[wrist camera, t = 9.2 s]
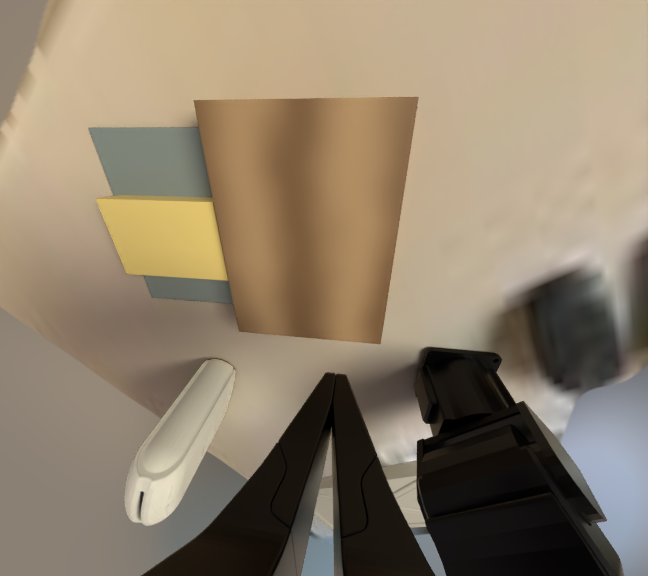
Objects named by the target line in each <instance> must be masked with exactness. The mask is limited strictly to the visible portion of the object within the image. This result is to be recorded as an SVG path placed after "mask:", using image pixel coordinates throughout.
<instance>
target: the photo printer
mask: <svg viewBox="0 0 648 576" xmlns="http://www.w3.org/2000/svg"><path fill="white" fill-rule="evenodd" d="M235 376H236V371H235V370H234V369H233V367H232V366H231V365H230V364H228V363H227V362H225V361H222V360H219V359H211V360H206V361H205V362H204V363H203V364H202V365H201V366H200V368H199V369H198V370H197V372H196V373H195V374H194V376H193V377H192V378H191V380H190V381H189V382H188V384H187V385H186V386H185V388H184V389H183V390H182V392H181V393H180V394H179V396H178V397H177V398H176V400H175V401H174V402H173V404H172V405H171V407H170V408H169V409H168V411H167V412H166V413H165V415H164V416H163V417H162V419H161V420H160V421H159V423H158V424H157V425H156V427H155V428H154V429H153V431H152V432H151V433H150V435H149V436H148V437H147V438H146V440H145V441H144V442H143V444H142V445H141V447H140V448H139V450H138V451H137V453H136V455H135V456H134V458H133V460H132V462H131V465H130V469H129V472H128V476H127V480H126V487H125V492H124V496H125V497H124V499H125V509H126V512H127V514H128V517H129V518H130V519H131V521H132V522H141V523H143V524H144V525H145V526H149V525H153V524H156V523H158V522H160V521H162V520H163V519H165V518H166V517H167V516H169V515H170V514H171V513H172V512H173V511H174V510H175V508H176V507H177V506H178V504H179V503H180V501H181V499H182V497H183V495H184V493H185V491H186V489H187V487H188V486H189V484H190V482H191V480H192V478H193V476H194V474H195V472H196V470H197V468H198V466H199V464H200V462H201V460H202V458H203V457H204V455H205V453H206V451H207V449H208V447H209V445H210V443H211V441H212V439H213V437H214V435H215V434H216V432H217V430H218V428H219V426H220V424H221V422H222V420H223V418H224V416H225V413H226V410H227V408H228V405H229V401H230V398H231V394H232V390H233V386H234V382H235Z"/></svg>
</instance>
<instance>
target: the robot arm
mask: <svg viewBox="0 0 648 576" xmlns="http://www.w3.org/2000/svg"><path fill="white" fill-rule="evenodd" d="M430 353H433V354H430ZM493 359H494V360H493ZM501 362H502V359H501V357H500V356H499V355H498V354H496V353H485V352H473V351H462V350H451V349H440V348H429V349H427V350H426V353H425V356H424V360H423V364H422V366H420V367H419V369H418V373H417V376H416V380H415V384H414V386H415V394H416V397H417V398H418V403H419V407H420V411H421V415H422V419H423V421H424V422H425V423H426V424H430V427H431V431H432V434H433V437H430V438H427V439H425V440H424V439H421V440H418V441H417V480H416V488H417V501H418V504H419V506H420V509H421V512H422V515H423V518H424V520H425V525H426V527H427V529H428V531H429V533H430V535H431V537H432V539H433V541H434V543H435V546H436V548H437V551H438V553H439V555H440V558H441V561H442V563H443V566H444V569H445V573H446V576H624V573H623V568H622V564H621V561H620V558H619V556H618V555H617V553H616V551H615V550H614V548H613V547H612V545H611V544H610V543H609V541H608V540H607V538H606V537H605V535H604V534H603V532H602V531H601V529H600V528H599V526H598V525H597V523H598V522H604V521H607V519H606V517H605V515H604V514H603V512H602V510H601V508H600V506H599V505H598V502H597V501H596V499H595V497H594V495H593V494H592V492H591V490H590V488H589V486H588V484H587V482H586V481H585V479H584V477H583V475H582V473H581V472H580V470H579V468H578V467H577V465H576V464H575V463H574V461H573V460H572V459H571V457H570V456H569V455H568V453H567V452H566V450H565V449H564V448H563V447H562V445H561V444H560V442H559V441H558V440H557V438H556V437H555V436H554V434H553V433H552V432H551V431H550V430H549V429H548V428H547V426H546V425H545V424H544V423H543V422H542V421H541V420H540V419H539V418H538V416H537V415H536V414H535V413H534V412H533V411H532V410H531V409H530V408H529V406H528V405H527V404H526V403H525V402H524V401H522V402H519V403H515V401H514V399H513V398H512V396H511V395H510V393H509V392H508V390H507V389H506V387H505V385H504V384H503V382H502V381H501V379H500V378H499V376H498V374H497V373H496V372H497V370H498V368H499V366H500V364H501ZM331 429H332V484H333V537H334V576H435V574H434V572H433V571H432V569H431V567H430V566H429V564H428V562H427V560H426V558H425V556H424V554H423V552H422V551H421V549H420V547H419V545H418V543H417V541H416V539H415V537H414V535H413V533H412V531H411V529H410V527H409V525H408V523H407V521H406V519H405V517H404V515H403V513H402V511H401V509H400V507H399V505H398V503H397V501H396V499H395V496H394V494H393V492H392V490H391V488H390V486H389V483H388V481H387V479H386V476H385V474H384V471H383V469H382V466H381V464H380V461H379V459H378V457H377V454H376V451H375V448H374V446H373V443H372V440H371V438H370V435H369V433H368V430H367V427H366V425H365V422H364V419H363V417H362V414H361V411H360V409H359V406H358V404H357V401H356V398H355V396H354V393H353V390H352V388H351V385H350V383H349V380H348V377H347V375H345V374H335V373H328V372H327V373H325V374H324V376H323V377H322V379H321V380H320V382H319V383H318V384H317V386H316V387H315V389H314V390H313V392H312V393H311V395H310V396H309V397H308V399H307V400H306V402H305V403H304V405H303V406H302V408H301V409H300V410H299V412H298V413H297V415H296V416H295V418H294V419H293V421H292V422H291V423H290V425H289V426H288V428H287V429H286V431H285V432H284V434H283V435H282V436H281V438H280V439H279V441H278V442H279V443H276V445H275V446H274V448H273V449H272V451H271V452H270V453H269V455H268V456H267V457H266V459H265V460H264V462H263V463H262V464H261V466H260V467H259V468H258V469H257V470H256V472H255V473H254V474H253V475H252V477H251V478H250V479H249V480H248V481H247V483H246V484H245V485H244V486H243V487H242V488H241V490H240V491H239V492H238V493H237V494H236V495H235V496H234V498H233V499H232V500H231V501H230V502H229V504H228V505H227V506H226V507H225V508H224V509H223V510H222V511H221V513H220V514H219V515H218V516H217V517H216V518H215V519H214V521H213V522H212V523H211V524H210V525H209V526H208V527H207V528H206V529H205V530H204V531H203V532H201V533H200V534H199V535H198V536H196V538H194V539H193V540H191V541H190V542H188V543H187V544H186V545H184V546H183V547H181V548H180V549H178V550H177V551H176V552H174V553H173V554H171V555H170V556H169V557H167V558H166V559H164V560H163V561H161V562H160V563H158V564H157V565H156V566H154V567H153V568H151V569H150V570H149V571H147V572H146V573H144V574H143V575H141V576H301V573H302V568H303V563H304V558H305V554H306V549H307V544H308V539H309V535H310V530H311V525H312V521H313V516H314V511H315V507H316V502H317V497H318V492H319V488H320V483H321V478H322V473H323V469H324V464H325V459H326V455H327V450H328V445H329V440H330V435H331Z"/></svg>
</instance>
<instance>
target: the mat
mask: <svg viewBox="0 0 648 576" xmlns="http://www.w3.org/2000/svg"><path fill="white" fill-rule="evenodd" d="M88 129H89V131H90V134H91V137H92V139H93V142H94V145H95V147H96V150H97V153H98V155H99V158H100V161H101V163H102V166H103V169H104V171H105V174H106V177H107V179H108V182H109V185H110V187H111V190H112V193H113V195H114V196H117V195H135V196H172V197H209V198H213V196H212V191H211V186H210V181H209V176H208V171H207V166H206V161H205V155H204V150H203V145H202V140H201V135H200V130H199V127H158V128H88ZM144 278H145V280H146V283H147V286H148V288H149V291H150V294H151V296H152V298H165V299H178V300H191V301H204V302H217V303H229V304H233V299H232V293H231V288H230V283H229V281H226V280H211V279H196V278H180V277H165V276H150V275H144Z"/></svg>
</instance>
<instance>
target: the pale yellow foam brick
mask: <svg viewBox="0 0 648 576" xmlns="http://www.w3.org/2000/svg"><path fill="white" fill-rule="evenodd" d="M96 201H97V204H98V206H99V208H100V211H101V213H102V216H103V218H104V220H105V223H106V225H107V228H108V230H109V233H110V235H111V237H112V240H113V242H114V245H115V247H116V249H117V252H118V254H119V257H120V259H121V262H122V264H123V266H124V269H125V271H126V274H134V275H150V276H165V277H180V278H196V279H211V280H226V281H229V278H228V273H227V268H226V263H225V258H224V253H223V247H222V242H221V237H220V232H219V227H218V222H217V217H216V212H215V207H214V201H213V198H209V197H172V196H135V195H117V196H110V197H104V198H97V199H96Z"/></svg>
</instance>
